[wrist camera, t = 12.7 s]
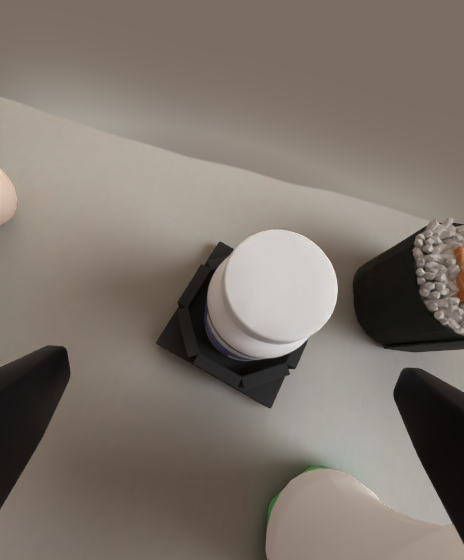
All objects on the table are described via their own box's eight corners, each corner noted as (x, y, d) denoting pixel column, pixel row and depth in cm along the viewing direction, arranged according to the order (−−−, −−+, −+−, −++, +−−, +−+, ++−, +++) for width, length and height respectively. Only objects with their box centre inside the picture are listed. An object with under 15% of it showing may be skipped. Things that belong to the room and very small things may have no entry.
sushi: (452, 354, 23) (580, 348, 15) (356, 348, 22) (440, 338, 14) (436, 262, 25) (538, 217, 18) (348, 253, 24) (417, 202, 17)
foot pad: (267, 407, 20) (277, 412, 18) (157, 344, 20) (152, 341, 18) (315, 299, 23) (329, 291, 20) (218, 246, 23) (221, 232, 21)
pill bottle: (242, 268, 22) (279, 192, 12) (295, 322, 21) (379, 285, 12) (186, 319, 20) (179, 276, 11) (242, 379, 19) (288, 391, 10)
